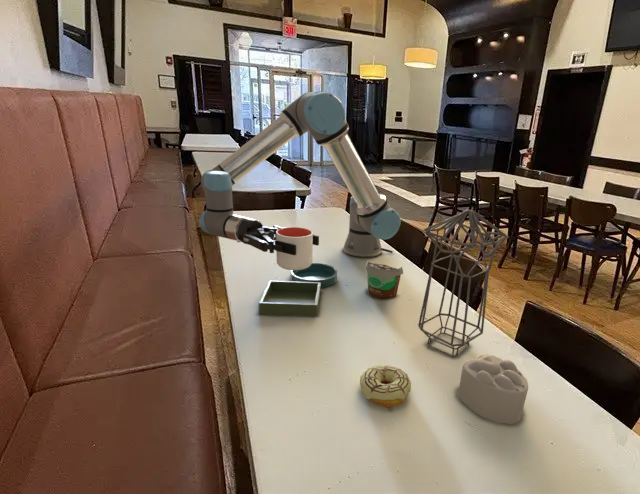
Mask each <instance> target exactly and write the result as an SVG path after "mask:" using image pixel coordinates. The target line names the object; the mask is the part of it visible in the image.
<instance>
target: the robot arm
mask: <svg viewBox="0 0 640 494" xmlns="http://www.w3.org/2000/svg"><path fill="white" fill-rule="evenodd" d="M349 129H350V126H349V124H348V122H347V119H346V110H345V107H344V104H343V103H342V101H341V100H340V99H339V98H338V97H337V96H336V95H334V94H332V93H331V92H327V91H306V92H304V93H302V94H300V95H299V96H298V97H296V98H295V99H294V100H293V101H291V102H290V104H288V105H287V106H286V107H284V109H282V110H281V111H279V117H277V118H276V119H275V120H274V121H273V122H271V123H269V125H268V126H266V127H265V128H264V129H262V130H261V131H260V132H258V133H257V134H256V135H255V136H253V137H252V138H251V139H249V140H248V141H247V142H246V143H244V144H242V146H240V147H239V148H238V149H237V150H235V151H234V152H232V153H231V154H230V155H228V156H227V157H226V158H225V159H224V160H222V161H221V162H220V163H219V164H217V165H216V166H214V167H213V168H212V169H209V170H206V171H204V172H203V173H202V175H201V178H200V186H201V188H202V190H203V192H204V196H205V205H206V209H205V210H204V211H202V213H201V214H200V218H199V219H198V221H199V222H198V223H199V227H200V229H201V230H202V231H203V232H205V233H207V234H209V235H211V236H214V237H219V238H224V239H228V240H231V241H235V242H236V243H243V245H249V246H251V247H252V248H255V249H257V250H260V251H261V252H264V253H267V252H268V250H269V254H274V253H275V252H276V251H279V252H283V253H287V254H291V255H296V245H294V244H289V243H285V242H281V241H277V240H276V231H277V230H279V229H281V228H287V226H279V225H276V224H273V225H272V227H270V226H264V225H263V223H262V222H261V221H260V220H258V219H254V218H250V217H246V216H241V215H237V214H234V205H233V203H234V202H233V186H234V185H235V184H236V183H237V182H239V181H241V179H242V178H244V177H245V176H247V175H248V174H249V173H250V172H251V171H253V170H254V169H255V168H257V167H258V166H260V165H261V164H262V163H263V162H264V161H265V160H267V159H268V158H269V157H271V156H272V155H273V154H274V153H276V152H277V151H278V150H280V149H281V148H282V147H283V146H285V145H286V144H287V143H289V142H290V141H291V140H292V139H294V138H300V137H302V136H303V135H304V134H306V133H308V132H310V134H311V136H312V138H313V140H314V141H315V143H316V144H317V146H321V147H324V149H325V151H326V153H327V154H328V156H329V158H330V160H331V161H332V163H333V165H334V167H335V168H336V170H337V172H338V174H339V175H340V177H341V179H342V180H343V182H344V184H345V186H346V188H347V189H348V191H349V193H350V194H351V197H350V202H349V222H348V223H349V227H348V233H347V236H346V238H345V242H344V245H343V252H344V253H345V254H346V255H349V256H352V257H355V258H375V257H377V256H380V255H381V253H382V251H383V252H387V253H390V254H393V252H394V250H391V249H388V248H387V249H386V248H383V247H382V245H381V241H380V240H383V241H386V240H389V239H391V238H393V237H394V236H395V235H396V234H397V233H398V232H399V230H400V226H401V222H402V219H401V216H400V214H399V213H398V211H397V210H395V209H394V208H392V206H391V205H390V203H389V201H388V199H387V197H386V195H384V194H382V193H380V192H379V191H378V189H377V187H376V184H375V183H374V181H373V179H372V177H371V176H370V173H369V172H368V170H367V168H366V165H364V162H363V160H362V158H361V156H360V155H359V153H358V151H357V149H356V147H355V145H354V143H353V141H352V140H351V138H350V135H349V134H348V133H349ZM319 245H320V235H316V234H313V246H319Z"/></svg>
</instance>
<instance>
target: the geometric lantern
mask: <svg viewBox="0 0 640 494" xmlns="http://www.w3.org/2000/svg"><path fill="white" fill-rule="evenodd" d="M466 217H468V222H469V225H467V224H464V222H465V219H466ZM481 222H482V223H484V224H485V225H487V226H489V228H491V229H493V230H494V231H495V232H494V231H488V230H486V228H485V227H484V225H483V224H482V223H481ZM457 225H458V227H457V228H456V231H455V232H454V234H453V236H452V238H449V237H447V236H448V235H449V234H450V232H451V231H452V230H453V229H455V227H456V226H457ZM461 229H462V231H463V232H464V233H465V235H467V236H468V237H469V238H470V240H471V241H470V243H464V242H459V241H455V240H456V238H457V236H458V235H459V232H460V230H461ZM467 229H469V230H470V232H469V231H468V230H467ZM442 230H443V234H442V235H440V234H439V231H442ZM434 232H436V233H434ZM422 233H423V234H425V235H426V236H427V237H428V239H429V240H430V241H431V242H432V243H433V244H434V251H433V256H432V260H431V262H430V270H429V274H428V278H427V283H426V287H425V291H424V296H423V297H424V298H423V302H422V306H421V310H420V315H419V319H418V324H417V327H418V329H419V330H420V331H421V332H422V333H423V334H424V335H425V336H426V337H427V338H428V339H427V344H426V345H427V346H428V347H429V348H431V349H434V350H436V351H438V352H439V353H442V354H445V355H447V356H448V357H450V358H457V357H459V355H461V354H462V353H463V352H464V351H465V350H467V348H468V347H469V346H470V343H471V342H472V341H473V340H476V339H477V338H478V337H480V336H481V335H483V333H484V327H485V318H486V317H485V315H486V306H487V298H488V297H487V296H488V288H489V287H488V286H489V276H490V270H491V268H492V265H493V259H494V256H495V254H496V251H497V249H498V248H499V247H501V245H502V244H503V243H504V242H505V241H506V240H507V239H509V238H510V236H509V235H507V234H506V233H505V232H504V231H502V230H501V229H499V228H498V227H497V226H495V225H494V224H492V223H491V222H490V221H489V220H487V219H485V217H484V216H482V215H481V214H479V213H478V212H476V211H475V210H473V209H465V210H464V211H462V212H460V213H458V214H455V215H453V216H451V217H448V218H446V219H444V220H441V221H439V222H437V223H434V224H433V225H430V226H428V227H425V228H423V229H422ZM491 235H493V236H494V235H495V237H492V236H491ZM478 237H479V239H480V240H478ZM488 239H489V240H488ZM446 241H447V242H449V243H450V247H449V245H448V243H447V242H446ZM439 242H440V244H439ZM443 242H444V245H445V246H446V248H447V249H446V250H445V249H443ZM477 244H478V245H479V246H477ZM453 245H458V246H463V247H462V248H459V249H456V250H453ZM493 245H494V248H492V250H491V251H490V248H491V246H493ZM485 247H487V250H486V251H487V252H486V251H485ZM473 248H475V249H480V250H481V252H482V255H481V256H480V257H479V258H478V259H477V260H474V259H471V258H467V257H464V256H463V255H464V254H465V252H466V251H467V250H470V249H473ZM437 249H438V252H437ZM460 252H461V253H460ZM440 253H444V254H448V255H447V256H444V257H441V258H439V259H437V257H438V256H439V255H440ZM457 253H460V254H459V255H456V254H457ZM489 257H490V260H489V264H487V261H486V259H489ZM446 259H449V263H448V264H449V265H448V267H447V268H448V269H447V268H445V267H443V266H442V267H441V266H440V265H436V264H435V263H437V262H439V261H443V260H446ZM453 259H454V260H455V264H456V266H455V271H453V270H451V268H452V263H453ZM461 259H463V260H466V261H470V262H472V263H475V264H474V265H473V266H472V267H471V268H470V270H469V271H468V272H467V274H465V273H464V271H463V269H462V267H461V265H460V260H461ZM481 259H483V262H484V263H483V262H480V261H481ZM478 264H479V265H482V266H484V267H486V268H485V270H482V271H480V272H478V273H476V274H473V275H470V274H471V272H472V271H473V270H474V269H475V267H477V265H478ZM434 267H435V268H437V269H440V270H443V271H446V276H445V277H446V278H445V281H444V287H443V292H442V297H441V301H440V305H439V311H438V313H437V314H435V315H433V316H431V317H430V318H428V319H425V318H426V314H427V313H426V312H427V307H428V301H429V295H430V289H431V283H432V278H433V271H434ZM458 271H459V272H460V273H458ZM450 273H451V274H454V278H453V284H452V289H451V296H450V302H449V307H448V313H444V312H442V309H443V304H444V301H445V296H446V291H447V287H448V282H449V278H450ZM484 273H485V274H484ZM482 274H484V281H483V287H482V293H481V298H480V299H481V300H480V306H479V312H478V319H477V324H475V323H472V322H469V321H467V320H468V311H469V301H470V294H471V293H470V292H471V285H472V284H471V283H472V278H473V279H474V278H475V277H477V276H479V275H482ZM458 276H459V277H460V280H459V284H458V285H459V287H458V293H457V300H456V306H455V314H454V315H453V314H451V313H452V306H453V301H454V295H455V289H456V284H457V283H456V282H457V278H458ZM464 278H468V282H467V291H466V298H465V299H466V300H465V311H464V318H463V319H462V318H460V317H458V314H459V306H460V301H461V300H460V299H461V296H462V295H461V294H462V287H463V281H464ZM442 316H445V317H447V318H446V322H445V324H444V326H443V321H442ZM438 317H439V322H440V326H441V327H439V328H438V329H436V330H435V331H434V332H432V333H431V332H430V331H427V330H425V329H424V325H425V324H426V323H428V322H430V321H432V320H434V319H436V318H438ZM450 318H453V319H454V320H453V326H452V328H449V327H447V326H448V323H449V319H450ZM457 321H460V322H461V323H463V327H462V332H460V331H457V330H456V328H457V327H456V326H457ZM467 324H468V325H470V326H472V327H474V328H475V329H474V330H472V332H470V333H469V334H468V335H467V334H466V330H467V329H466V328H467ZM480 324H481V325H480ZM443 329H444V330H443ZM442 330H443V331H442ZM447 330H448V331H450V332H451V334H450V333H447V332H446V331H447ZM477 330H478V331H479V332H478V333H477V334H475V335H473V334H474V333H475V332H476V331H477ZM438 332H439V333H438ZM437 333H438V334H437ZM435 334H437V335H435ZM455 334H459V335H462V338H460V337H457V336H455ZM441 335H446V336H449V337H450V338H451V339H450V342H449V341H448V340H445V339H443V338H441V337H440V336H441ZM472 335H473V336H472ZM432 337H433V338H432ZM465 338H466V339H465ZM455 339H456V340H458V341H460V342H461V343H454V340H455ZM432 342H435V343H437V344H440V345H443V346H444V347H447V348H449V349H451V350H452V353H448V352H446V351H444V350H441V349H439V348H437V347H435V346H432ZM462 347H464V348H463V349H462V350H460V351H459V349H461V348H462ZM455 351H456V353H455Z"/></svg>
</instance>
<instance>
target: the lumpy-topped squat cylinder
mask: <svg viewBox="0 0 640 494" xmlns="http://www.w3.org/2000/svg"><path fill="white" fill-rule="evenodd" d="M457 391H458V392H457V395H458V398H459V400H460V401H461V402H462V403H463V404H465V405H466V406H467V408H469V409H470V410H472V411H473V412H474V413H476V414H477V415H479V416H480V417H482V418H484V419H486V420H489V421H492V422H495V423H499V424H507V425H512V424H516V423H519V422H520V421H521V419H522V415H523V411H524V407H525V403H526V399H527V395H528V391H529V383H528V379H527V378H526V376H525V375H524V374H523V373H522V371H521V370H519V369H518V367H517V365H516V364H515V363H514V362H513V361H512V360H509V359H502V358H500V357H498V356H496V355H493V354H481V355H479V356H477V357H475V358H473V359H469V360H466V361H465V362H463V364H462V369H461V374H460V379H459V386H458V390H457Z"/></svg>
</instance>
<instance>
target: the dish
mask: <svg viewBox="0 0 640 494" xmlns="http://www.w3.org/2000/svg"><path fill="white" fill-rule="evenodd" d="M289 273H290V281H297V282H321V288H325V287H326V288H327V287H329V286H331V285H333V284H335V283H336V282H337V281H338V269H337V268H336V267H335V266H332V265H329V264H326V263H321V262H320V263H319V262H312V264H311V265H310V266H309V267H308V268H306V269H303V270H290V272H289Z"/></svg>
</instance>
